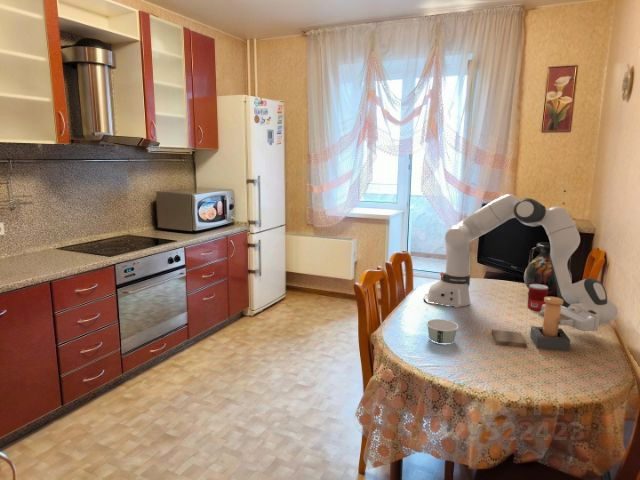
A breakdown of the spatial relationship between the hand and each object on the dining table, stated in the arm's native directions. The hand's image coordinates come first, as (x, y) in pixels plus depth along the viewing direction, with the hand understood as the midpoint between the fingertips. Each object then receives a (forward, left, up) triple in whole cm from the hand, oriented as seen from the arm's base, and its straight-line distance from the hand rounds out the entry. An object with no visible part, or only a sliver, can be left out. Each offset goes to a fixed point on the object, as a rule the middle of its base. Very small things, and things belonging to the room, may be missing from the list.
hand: (550, 318), depth 165 cm
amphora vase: (+14, +61, -11) cm, 64 cm away
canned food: (+6, +43, -11) cm, 45 cm away
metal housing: (+1, 0, -10) cm, 10 cm away
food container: (-39, -7, -11) cm, 41 cm away
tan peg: (+1, 0, -11) cm, 11 cm away
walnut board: (-14, 0, -10) cm, 17 cm away
